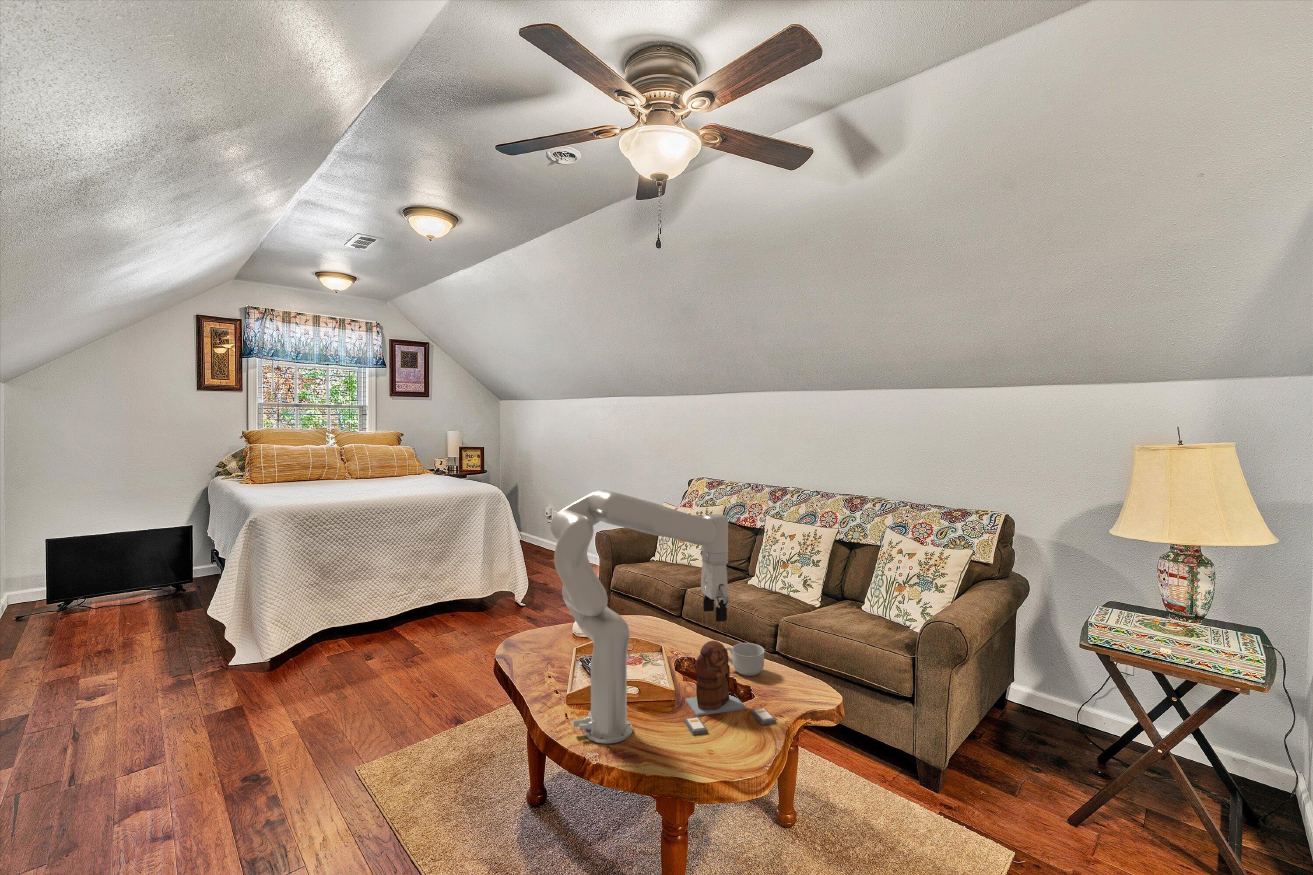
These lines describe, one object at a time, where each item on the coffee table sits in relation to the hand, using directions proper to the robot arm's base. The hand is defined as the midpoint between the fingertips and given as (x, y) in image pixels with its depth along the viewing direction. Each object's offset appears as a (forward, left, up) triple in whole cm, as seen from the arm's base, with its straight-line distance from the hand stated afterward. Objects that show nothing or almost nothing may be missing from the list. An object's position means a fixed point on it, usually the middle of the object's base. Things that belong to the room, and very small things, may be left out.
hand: (714, 615), depth 169 cm
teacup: (+18, +20, -26) cm, 38 cm away
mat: (0, 0, -26) cm, 26 cm away
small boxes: (0, -11, -26) cm, 28 cm away
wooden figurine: (0, 0, -26) cm, 26 cm away
